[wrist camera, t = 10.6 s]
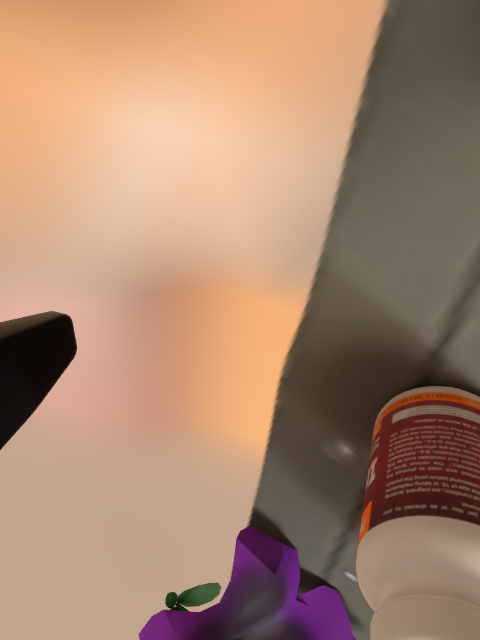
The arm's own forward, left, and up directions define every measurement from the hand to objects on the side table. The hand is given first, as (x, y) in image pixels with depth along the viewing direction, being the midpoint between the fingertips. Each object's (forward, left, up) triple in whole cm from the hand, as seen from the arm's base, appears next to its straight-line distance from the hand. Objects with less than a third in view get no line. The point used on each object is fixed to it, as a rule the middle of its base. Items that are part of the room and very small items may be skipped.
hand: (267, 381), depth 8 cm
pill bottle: (-10, -6, -12) cm, 17 cm away
